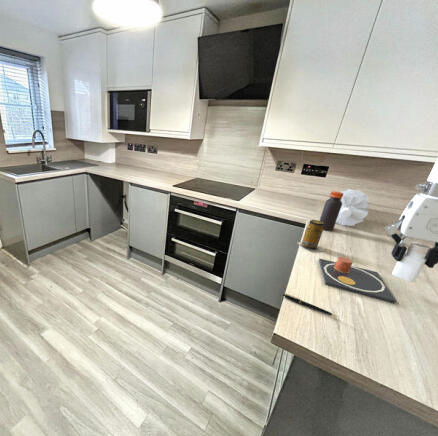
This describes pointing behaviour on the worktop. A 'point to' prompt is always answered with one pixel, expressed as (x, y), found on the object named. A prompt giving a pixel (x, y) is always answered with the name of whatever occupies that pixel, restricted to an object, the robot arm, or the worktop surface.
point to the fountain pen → (307, 304)
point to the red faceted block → (343, 264)
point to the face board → (356, 281)
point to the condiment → (312, 236)
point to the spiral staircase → (352, 207)
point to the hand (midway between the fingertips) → (411, 261)
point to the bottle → (331, 210)
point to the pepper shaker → (411, 262)
